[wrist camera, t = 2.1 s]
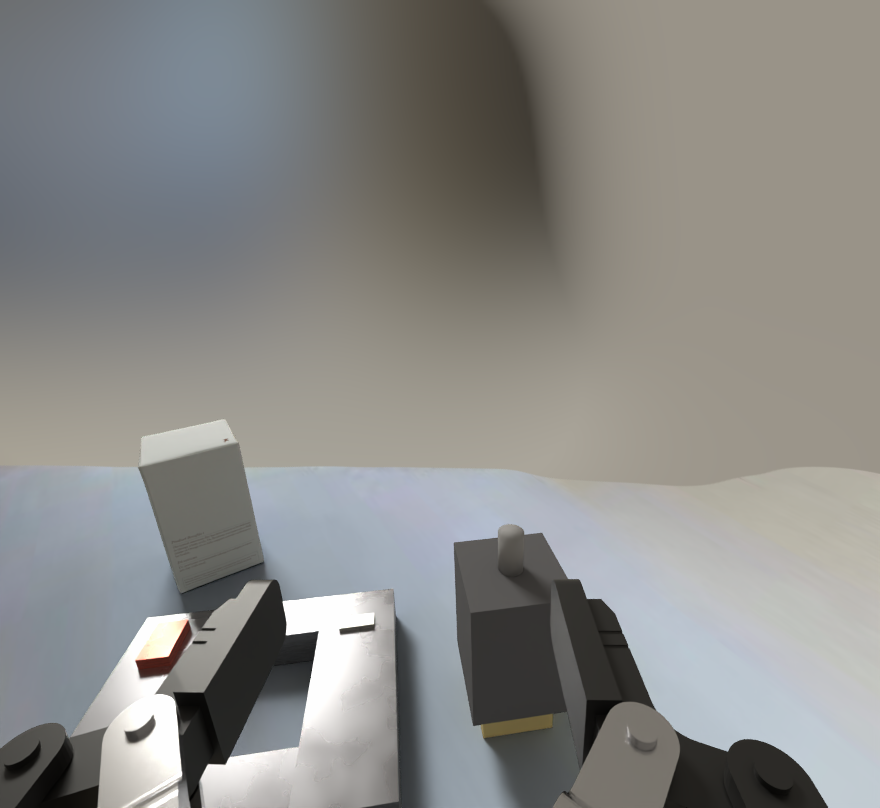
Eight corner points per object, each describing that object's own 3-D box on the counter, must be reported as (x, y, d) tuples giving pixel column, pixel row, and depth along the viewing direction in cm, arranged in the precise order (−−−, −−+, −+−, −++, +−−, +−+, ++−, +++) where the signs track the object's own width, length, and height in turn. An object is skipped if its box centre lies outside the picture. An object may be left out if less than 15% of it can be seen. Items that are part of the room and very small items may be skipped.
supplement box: (251, 525, 47) (228, 416, 43) (265, 563, 41) (240, 441, 37) (173, 551, 44) (139, 434, 39) (176, 597, 38) (136, 465, 33)
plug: (473, 752, 25) (469, 573, 21) (458, 666, 30) (452, 509, 26) (568, 737, 26) (582, 560, 21) (536, 655, 31) (543, 499, 27)
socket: (5, 904, 20) (-25, 859, 19) (156, 644, 33) (144, 609, 32) (402, 835, 22) (397, 790, 20) (395, 614, 35) (392, 580, 34)
